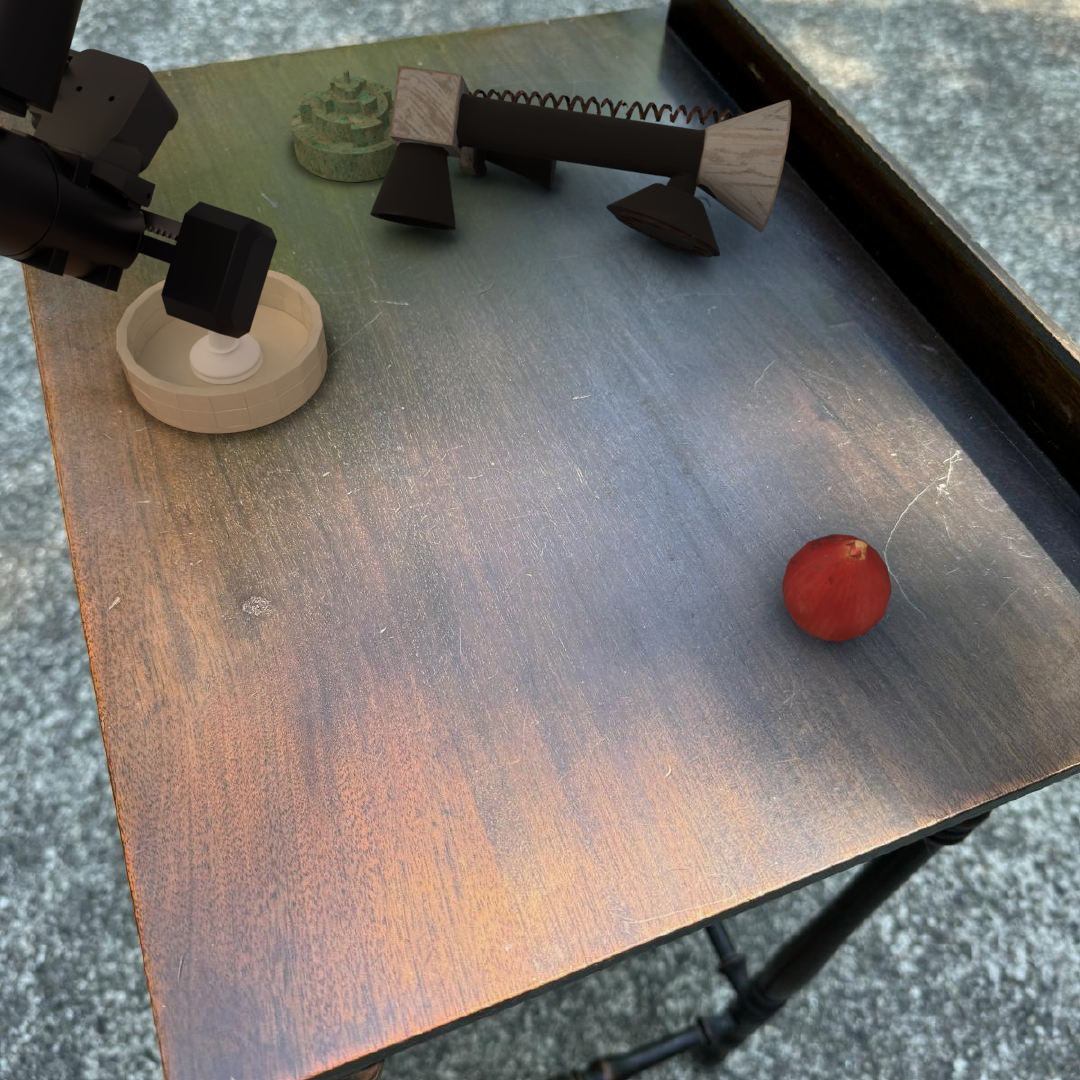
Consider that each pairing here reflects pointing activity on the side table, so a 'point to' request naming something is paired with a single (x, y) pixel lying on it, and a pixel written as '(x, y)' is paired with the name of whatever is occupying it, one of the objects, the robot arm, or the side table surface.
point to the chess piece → (225, 358)
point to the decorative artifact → (345, 130)
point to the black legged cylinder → (581, 155)
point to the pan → (195, 405)
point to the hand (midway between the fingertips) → (197, 265)
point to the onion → (836, 587)
